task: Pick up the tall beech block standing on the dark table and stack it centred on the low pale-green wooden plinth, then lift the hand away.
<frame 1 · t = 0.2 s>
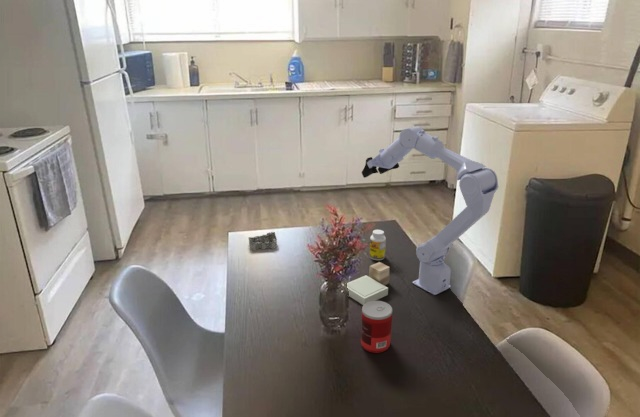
hand: (371, 173, 161), 31 cm above the table, tool tilted 45°, fingers open, 7 cm apart
egg carton: (263, 246, 180), on the table
beech block: (378, 282, 154), on the table
supplement bottle: (377, 258, 170), on the table
canned food: (375, 344, 125), on the table
plinth: (365, 293, 148), on the table
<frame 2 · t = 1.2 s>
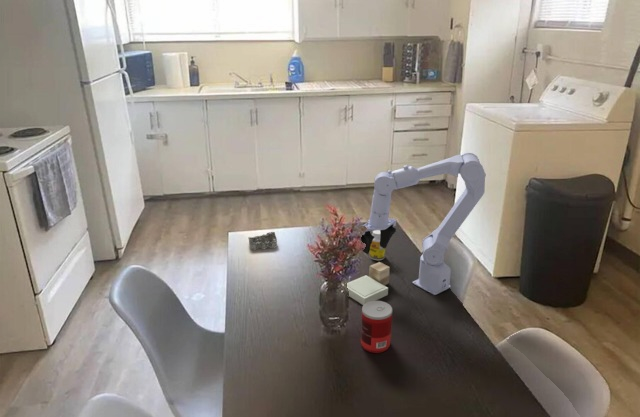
hand: (374, 249, 151), 11 cm above the table, tool pointing down, fingers open, 7 cm apart
nothing on the table moved.
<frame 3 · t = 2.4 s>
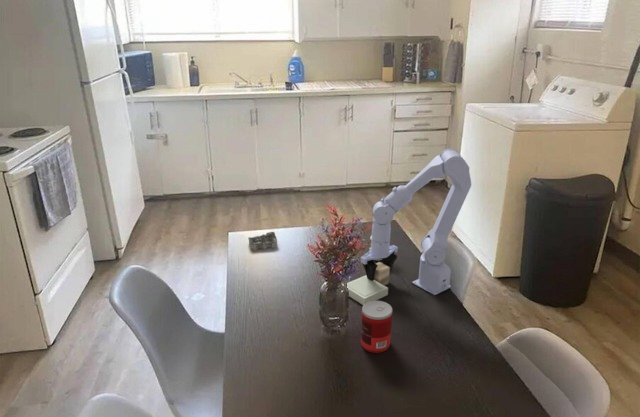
hand: (377, 277, 153), 2 cm above the table, tool pointing down, fingers open, 6 cm apart
nothing on the table moved.
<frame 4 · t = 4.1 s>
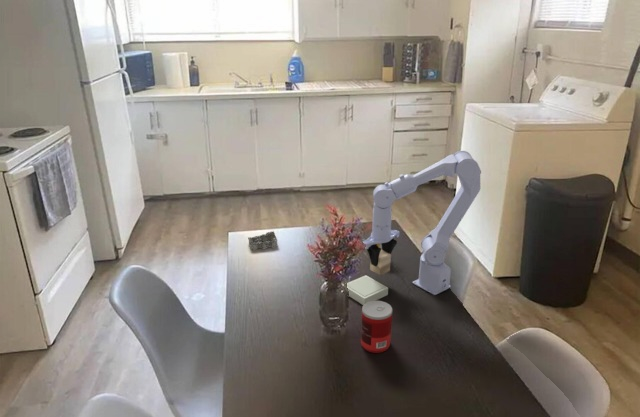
hand: (380, 262, 151), 7 cm above the table, tool pointing down, fingers closed on beech block, 4 cm apart
beech block: (380, 270, 152), point 5 cm above the table, touching gripper
everything else where it was.
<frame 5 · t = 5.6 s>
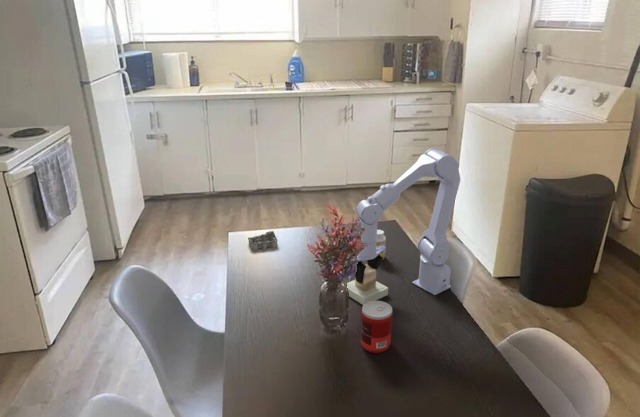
hand: (365, 279, 146), 5 cm above the table, tool pointing down, fingers closed on beech block, 4 cm apart
beech block: (365, 286, 147), point 3 cm above the table, touching gripper, plinth
everything else where it was.
when the fingers open (5 cm above the table, at t = 6.3 s): beech block stays where it is, resting on plinth.
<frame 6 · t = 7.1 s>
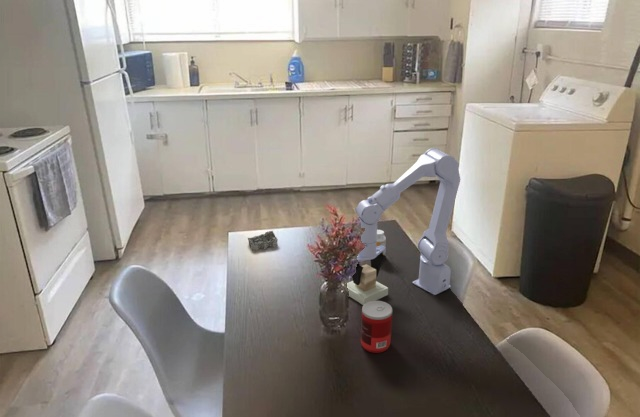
hand: (365, 279, 146), 5 cm above the table, tool pointing down, fingers open, 7 cm apart
beech block: (365, 286, 147), point 3 cm above the table, touching plinth
everything else where it was.
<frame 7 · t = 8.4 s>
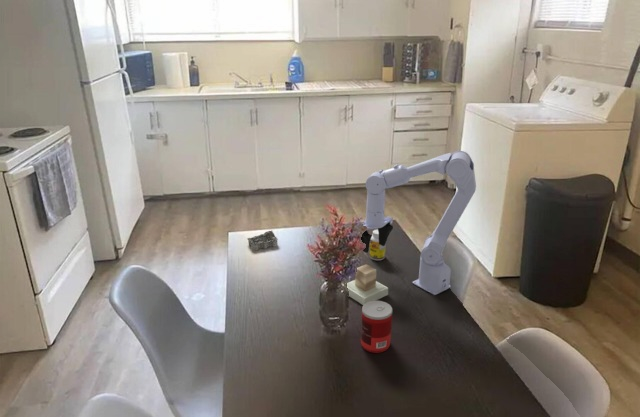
hand: (373, 248, 155), 10 cm above the table, tool pointing down, fingers open, 7 cm apart
nothing on the table moved.
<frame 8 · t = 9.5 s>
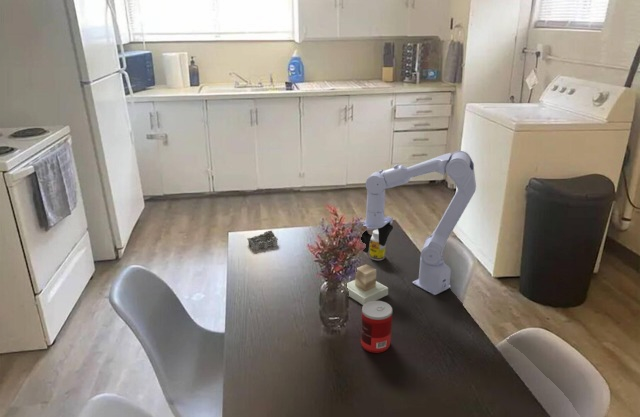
hand: (373, 248, 155), 10 cm above the table, tool pointing down, fingers open, 7 cm apart
at the end: beech block inside the target area on the plinth (0.1 cm from its centre), point 2.6 cm above the plinth's base; beech block tilted 0°; the gripper is holding nothing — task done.
